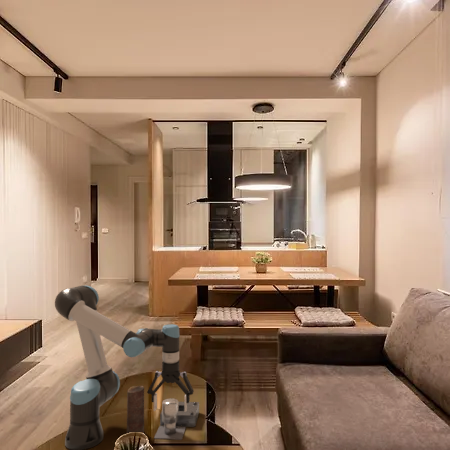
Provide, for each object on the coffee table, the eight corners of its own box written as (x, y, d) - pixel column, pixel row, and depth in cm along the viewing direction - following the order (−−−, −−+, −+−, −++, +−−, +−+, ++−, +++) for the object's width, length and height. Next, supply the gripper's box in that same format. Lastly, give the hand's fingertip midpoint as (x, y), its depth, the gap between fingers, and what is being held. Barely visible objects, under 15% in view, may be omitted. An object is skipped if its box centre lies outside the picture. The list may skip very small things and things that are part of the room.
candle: (139, 440, 153) (139, 391, 154) (123, 438, 155) (124, 390, 156) (146, 430, 161) (147, 384, 162) (131, 429, 162) (132, 383, 163)
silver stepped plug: (160, 436, 155) (160, 405, 156) (164, 427, 162) (164, 398, 163) (176, 436, 155) (176, 405, 156) (179, 428, 162) (179, 398, 163)
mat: (153, 438, 154) (153, 437, 154) (159, 426, 164) (159, 426, 164) (181, 439, 153) (181, 438, 153) (185, 427, 163) (185, 426, 163)
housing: (160, 425, 165) (160, 413, 165) (166, 411, 179) (167, 400, 179) (194, 426, 164) (194, 414, 164) (199, 412, 178) (199, 401, 178)
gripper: (140, 363, 157) (140, 413, 156) (197, 364, 156) (197, 414, 155) (145, 357, 165) (145, 405, 164) (199, 358, 163) (199, 406, 162)
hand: (170, 410), depth 159 cm, fingers open, 13 cm apart
